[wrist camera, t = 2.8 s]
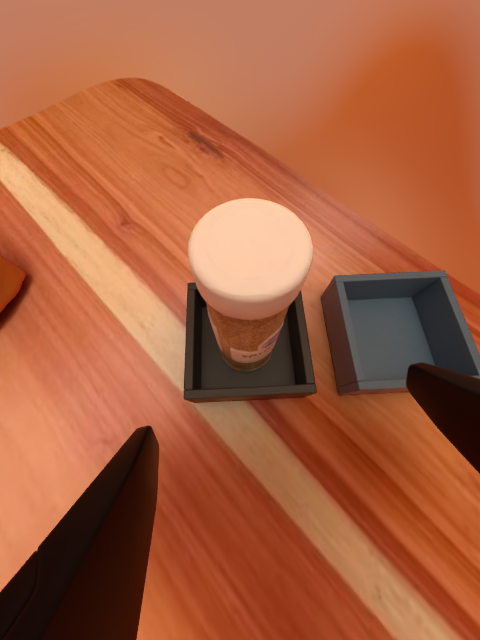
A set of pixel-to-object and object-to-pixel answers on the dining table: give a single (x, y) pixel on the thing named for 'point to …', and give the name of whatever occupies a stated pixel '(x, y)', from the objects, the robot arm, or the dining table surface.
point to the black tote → (231, 385)
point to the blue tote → (394, 329)
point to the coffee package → (9, 281)
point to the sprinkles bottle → (249, 274)
